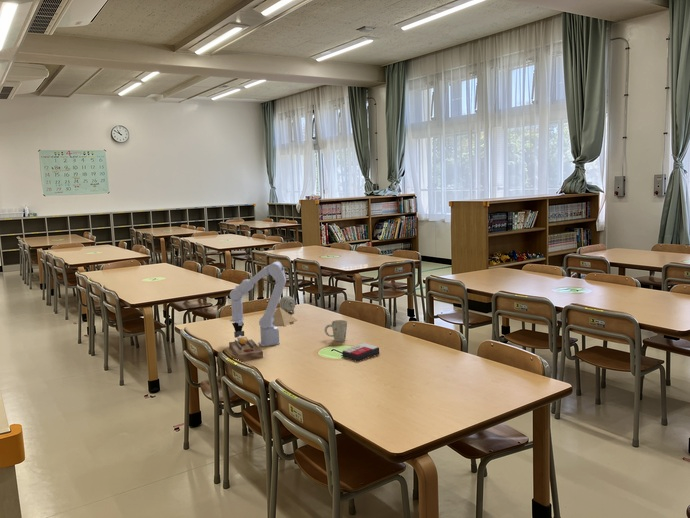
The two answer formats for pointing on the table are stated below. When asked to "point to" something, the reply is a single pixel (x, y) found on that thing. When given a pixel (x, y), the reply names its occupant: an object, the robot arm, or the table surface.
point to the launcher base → (246, 350)
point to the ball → (243, 341)
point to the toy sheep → (287, 304)
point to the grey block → (239, 335)
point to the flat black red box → (360, 352)
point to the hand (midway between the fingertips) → (238, 336)
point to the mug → (338, 330)
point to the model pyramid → (283, 318)
